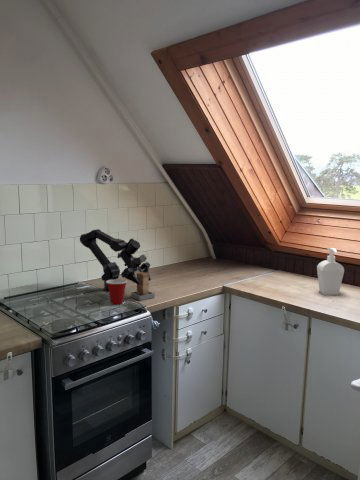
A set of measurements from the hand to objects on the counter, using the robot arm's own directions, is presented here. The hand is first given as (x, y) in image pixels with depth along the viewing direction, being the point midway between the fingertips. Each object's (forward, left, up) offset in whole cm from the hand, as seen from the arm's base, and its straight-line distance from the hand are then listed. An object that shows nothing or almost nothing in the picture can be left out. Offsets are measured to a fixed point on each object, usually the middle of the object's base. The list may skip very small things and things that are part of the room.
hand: (144, 282), depth 224 cm
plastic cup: (-16, +1, -9) cm, 19 cm away
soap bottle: (+89, -53, -9) cm, 104 cm away
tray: (0, +1, -9) cm, 9 cm away
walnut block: (0, +1, -8) cm, 8 cm away
